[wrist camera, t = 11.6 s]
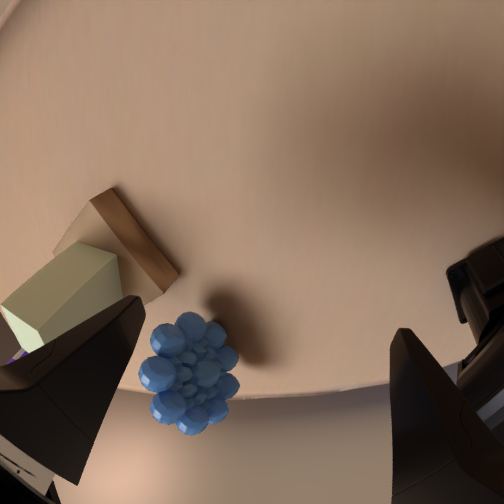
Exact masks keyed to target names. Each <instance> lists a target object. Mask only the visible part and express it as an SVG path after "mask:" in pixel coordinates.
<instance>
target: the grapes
mask: <svg viewBox="0 0 504 504" xmlns="http://www.w3.org/2000/svg"><path fill="white" fill-rule="evenodd" d="M226 337H227V333H226V331H225V330H224V328H223V327H222V326H220V325H219V324H218V323H215V322H208V323H206V322H205V321H204V319H203V318H202V317H201V316H200V315H198V314H197V313H193V312H186V313H183V314H181V315H180V316H179V317H178V318H177V320H176V323H175V325H172V324H169V323H166V324H161V325H159V326H158V327H156V328H155V329H154V330H153V332H152V335H151V338H150V344H151V347H152V349H153V351H154V352H155V353H156V354H157V355H158V356H153V357H148V358H147V359H146V360H145V361H144V362H142V364H141V367H140V369H139V373H138V374H139V378H140V381H141V384H142V385H143V386H144V387H145V388H146V389H147V390H149V391H153V392H157V394H156V395H155V396H154V397H153V398H152V401H151V403H150V410H151V412H152V415H153V417H154V418H155V419H156V420H157V421H158V422H159V423H163V424H168V425H170V424H173V423H176V425H177V427H178V429H179V430H180V431H181V432H183V433H184V434H186V435H195V434H199V433H201V432H202V431H203V430H204V429H205V428H206V426H207V425H208V423H211V424H215V423H218V422H221V421H222V420H223V419H224V418H225V417H226V416H227V414H228V412H229V407H228V404H227V403H226V401H225V400H226V399H229V398H232V397H233V396H234V395H235V394H236V393H237V391H238V389H239V387H240V384H239V382H238V380H237V379H236V377H234V376H233V375H232V374H230V373H226V372H227V371H230V370H232V369H233V368H234V367H235V366H236V364H237V362H238V359H239V357H238V354H237V353H236V351H235V350H234V349H233V348H231V347H230V346H226V345H223V344H224V342H225V340H226Z"/></svg>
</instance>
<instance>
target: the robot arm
mask: <svg viewBox="0 0 504 504" xmlns="http://www.w3.org/2000/svg"><path fill="white" fill-rule="evenodd" d="M452 272H454V273H453V274H452V275H450V274H451V273H452ZM446 276H447V279H448V282H449V285H450V289H451V292H452V296H453V299H454V303H455V306H456V310H457V314H458V318H459V321H460V323H461V324H464V323H467V322H468V323H469V325H470V328H471V330H472V333H473V336H474V338H475V341H476V344H477V346H476V347H475V348H474V350H473V351H472V352H471V353H470V354H469V355H468V356H467V357H466V358H465V359H463V360H462V361H461V362H460V363H459V364H458V375H457V376H458V377H457V386H456V385H455V384H454V382H453V381H452V380H451V378H450V377H449V376H448V375H447V373H446V372H445V371H444V369H443V368H442V367H441V366H440V364H439V363H438V362H437V361H436V359H435V358H434V357H433V356H432V354H431V353H430V352H429V351H428V349H427V348H426V347H425V346H424V345H423V343H422V342H421V341H420V340H419V338H418V337H417V336H416V335H415V334H414V332H413V331H412V330H411V329H409V328H399V329H398V330H397V332H396V334H395V336H394V338H393V341H392V343H391V345H390V403H391V418H392V446H393V480H392V481H393V482H392V502H391V504H504V238H502V239H501V240H499V241H497V242H495V243H494V244H492V245H490V246H489V247H487V248H485V249H483V250H481V251H480V252H478V253H476V254H474V255H472V256H471V257H469V258H467V259H465V260H463V261H461V262H459V263H458V264H456V265H454V266H452V267H450V268H449V269H448V270H447V271H446ZM145 317H146V312H145V309H144V306H143V302H142V299H141V297H140V296H137V295H132V294H131V295H128V296H126V297H124V298H123V299H121V300H119V301H117V302H116V303H114V304H112V305H111V306H109V307H107V308H105V309H104V310H102V311H100V312H99V313H97V314H95V315H93V316H92V317H90V318H88V319H87V320H85V321H83V322H82V323H80V324H78V325H77V326H75V327H73V328H72V329H70V330H68V331H66V332H65V333H63V334H61V335H60V336H58V337H57V339H56V338H55V339H53V340H51V341H50V342H48V343H46V344H45V345H43V346H41V347H40V348H38V349H36V350H34V351H32V352H30V353H28V354H26V355H24V356H22V357H20V358H18V359H16V360H14V361H12V362H10V363H8V364H6V365H4V366H0V504H61V502H60V499H59V497H58V494H57V491H56V488H55V485H54V481H52V480H53V477H54V475H55V474H57V475H59V476H60V477H62V478H64V479H66V480H67V481H69V482H71V483H73V484H75V485H76V486H77V485H78V484H79V481H80V478H81V475H82V473H83V470H84V467H85V465H86V462H87V459H88V457H89V454H90V452H91V449H92V446H93V444H94V441H95V438H96V436H97V434H98V431H99V429H100V426H101V424H102V422H103V419H104V417H105V414H106V412H107V410H108V407H109V405H110V402H111V400H112V398H113V396H114V393H115V391H116V389H117V387H118V384H119V382H120V380H121V378H122V376H123V373H124V371H125V369H126V367H127V365H128V363H129V360H130V358H131V356H132V354H133V351H134V349H135V346H136V343H137V340H138V337H139V334H140V332H141V329H142V326H143V323H144V320H145ZM463 318H464V319H463Z"/></svg>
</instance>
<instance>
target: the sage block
mask: <svg viewBox="0 0 504 504" xmlns="http://www.w3.org/2000/svg"><path fill="white" fill-rule="evenodd" d="M121 299H123V293H122V287H121V281H120V275H119V268H118V261H117V255H116V254H113V253H110V252H107V251H104V250H101V249H98V248H95V247H92V246H89V245H86V244H83V243H80V242H77V241H76V242H75V243H73V244H72V245H71V246H69V247H68V248H67V249H65V250H64V251H63V252H62V253H60V254H59V255H58V256H56V257H55V258H54V259H53V260H51V261H50V262H49V263H48V264H46V265H45V266H44V267H43V268H42V269H40V270H39V271H38V272H37V273H35V274H34V275H33V276H32V277H31V278H30V279H28V280H27V281H26V282H25V283H24V284H23V285H21V286H20V287H19V288H18V289H17V290H16V291H15V292H13V293H12V294H11V295H10V296H9V297H8V298H7V299H6V300H5V301H4V302H2V303H1V304H0V305H1V307H2V309H3V311H4V314H5V316H6V318H7V320H8V322H9V324H10V326H11V328H12V330H13V332H14V334H15V335H16V337H17V339H18V341H19V343H20V345H21V346H22V348H23V349H24V350H26V351H27V352H28V353H30V352H32V351H34V350H36V349H38V348H40V347H41V346H43V345H45V344H46V343H48V342H50V341H51V340H53V339H55V338H56V339H57V337H58V336H60V335H61V334H63V333H65V332H66V331H68V330H70V329H72V328H73V327H75V326H77V325H78V324H80V323H82V322H83V321H85V320H87V319H88V318H90V317H92V316H93V315H95V314H97V313H99V312H100V311H102V310H104V309H105V308H107V307H109V306H111V305H112V304H114V303H116V302H117V301H119V300H121Z"/></svg>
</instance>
